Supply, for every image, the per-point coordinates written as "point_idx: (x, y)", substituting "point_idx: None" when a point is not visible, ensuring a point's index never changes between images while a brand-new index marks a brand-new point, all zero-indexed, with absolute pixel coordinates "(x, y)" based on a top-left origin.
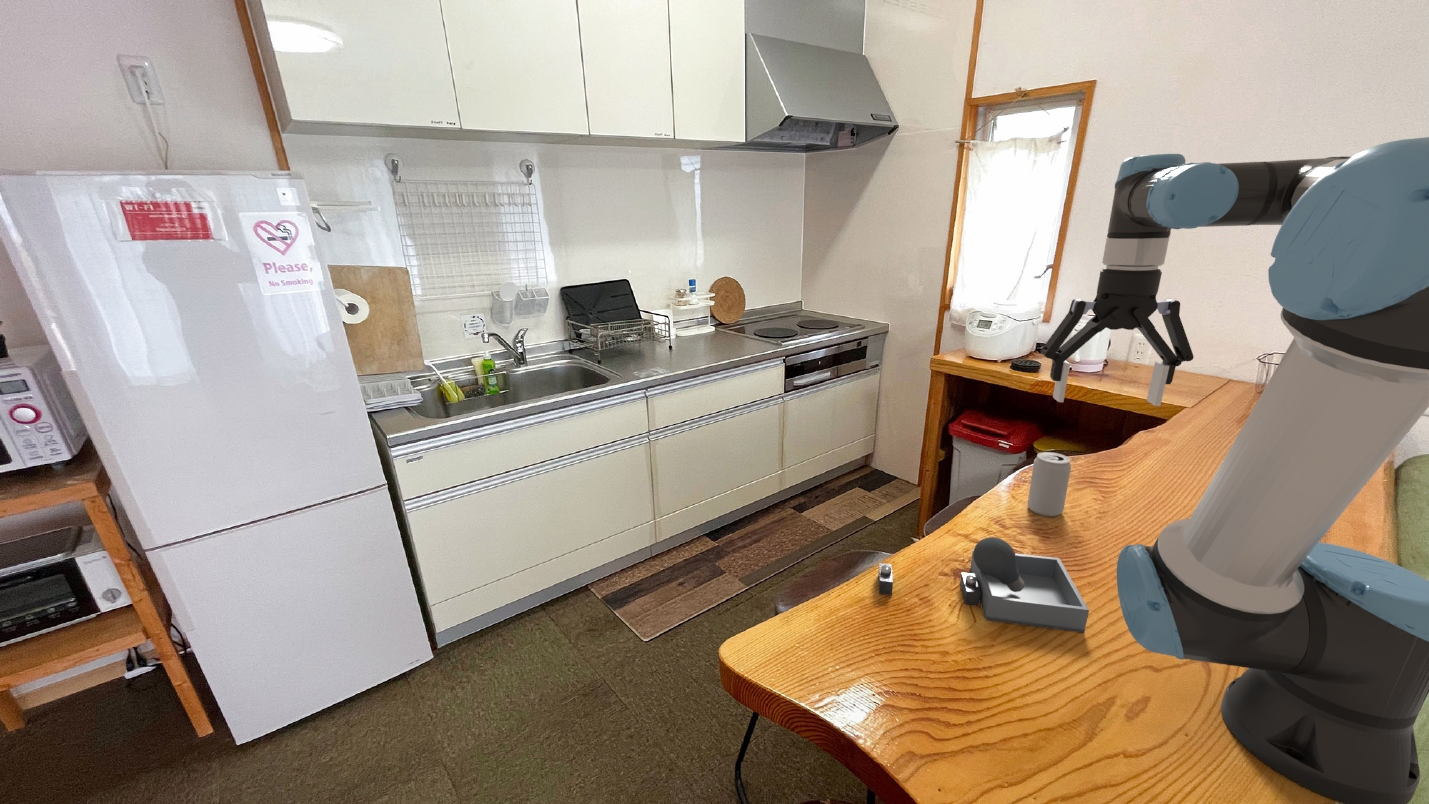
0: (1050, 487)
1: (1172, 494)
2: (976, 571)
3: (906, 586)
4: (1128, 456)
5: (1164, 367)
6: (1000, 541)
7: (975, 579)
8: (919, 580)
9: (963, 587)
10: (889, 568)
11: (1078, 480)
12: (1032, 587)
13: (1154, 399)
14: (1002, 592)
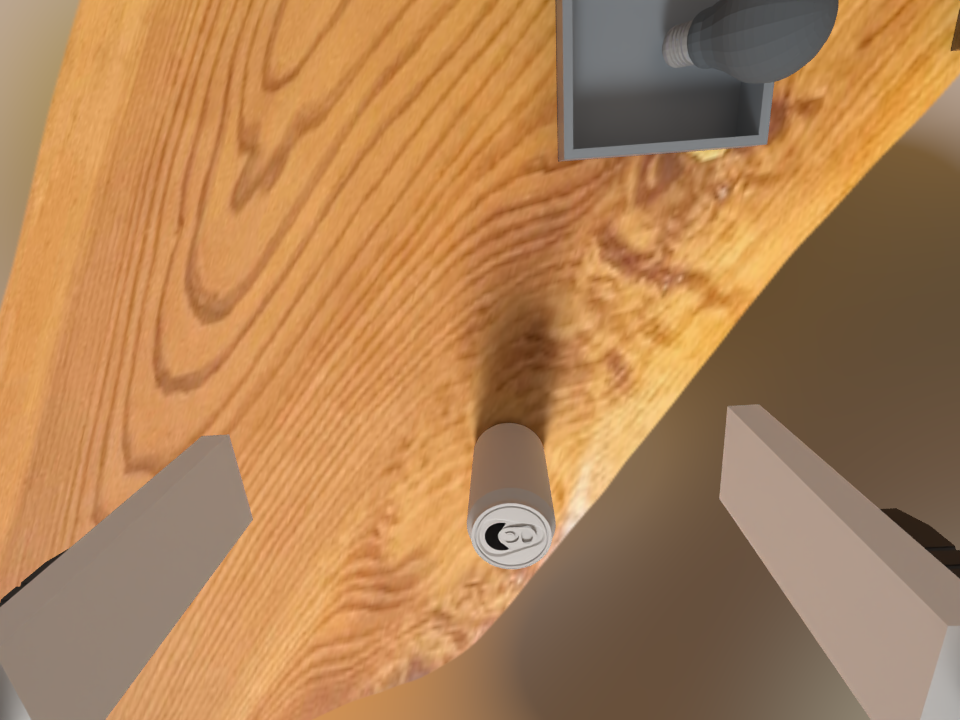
0: (516, 459)
1: (246, 567)
2: None
3: (919, 19)
4: (288, 705)
5: (4, 635)
6: (792, 1)
7: None
8: (878, 58)
9: None
10: None
11: (408, 591)
12: (623, 92)
13: (215, 469)
14: None
